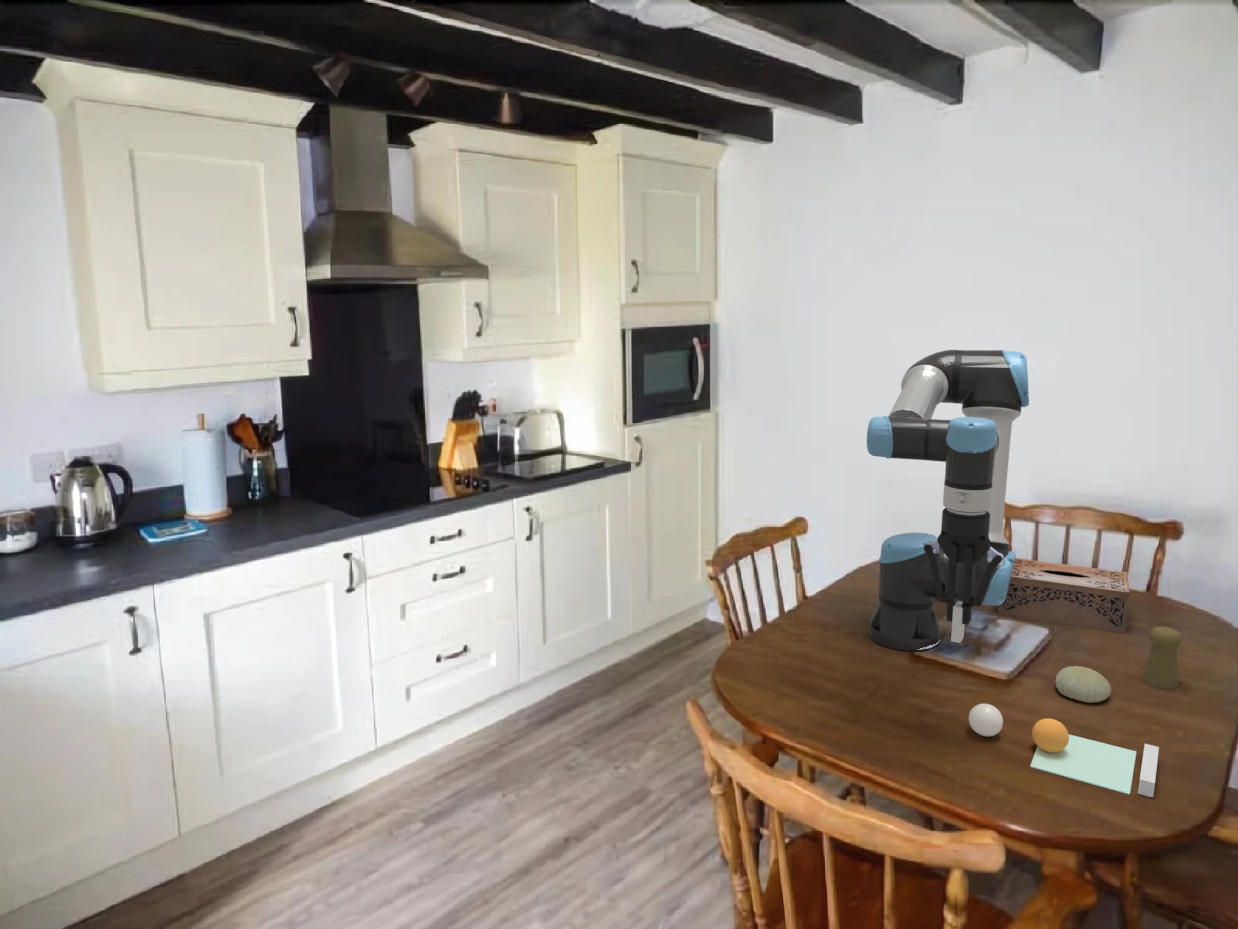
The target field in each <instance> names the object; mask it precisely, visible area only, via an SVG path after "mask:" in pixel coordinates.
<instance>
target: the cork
mask: <svg viewBox="0 0 1238 929" xmlns="http://www.w3.org/2000/svg"><path fill="white" fill-rule="evenodd" d="M1182 639H1183V638H1182V635H1181V633H1180V632H1179V631H1178V630H1176V629H1173V628H1171V627H1168V626H1156V627H1154V628H1152V629H1151V630H1150V632H1149V641H1150V642H1151V645H1150V646H1151V647H1150V649H1149V652H1148V657H1147V658H1146V659H1147V660H1146V663H1145V666H1144V668H1143V669H1144V670H1143V673H1142V676H1141V680H1142V681H1143V682H1144V683H1145V684H1147V685H1148V686H1151V687H1154V688H1157V689H1163V690H1173V689H1174V688H1175V689H1177V688H1178V687H1179V668H1178V667H1179V666H1178V665H1179V663H1178V648H1179V647H1180V646H1181V643H1182V641H1183V640H1182ZM1176 687H1177V688H1176Z"/></svg>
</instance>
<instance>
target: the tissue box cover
mask: <svg viewBox="0 0 1238 929" xmlns="http://www.w3.org/2000/svg"><path fill="white" fill-rule="evenodd" d="M1130 591H1131V590H1130V583H1129V572H1127V571H1118V570H1112V569H1103V568H1096V567H1087V566H1081V565H1072V564H1064V563H1058V562H1057V563H1056V562H1049V561H1040V560H1033V559H1025V558H1024V559H1023V558H1018V557H1015V561H1014V565H1013V570H1012V574H1011V578H1010V583H1009V587H1008V591H1007V595H1006V598H1005V601H1004V602H1003V603H1002V604H1001V605H998V612H997V613H998V615H1002V616H1008V617H1016V618H1022V619H1029V620H1034V621H1041V622H1047V623H1052V624H1059V625H1066V626H1073V627H1079V628H1085V629H1093V630H1098V631H1105V632H1111V633H1116V634H1126V627H1127V618H1128V610H1129V602H1130Z"/></svg>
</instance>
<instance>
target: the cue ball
mask: <svg viewBox="0 0 1238 929" xmlns="http://www.w3.org/2000/svg"><path fill="white" fill-rule="evenodd" d="M968 723H969V725H970V727H971V729H972V730H973V731H974V732H975V733H976V734H978V735H979V736H983V737H994V736H995V735H998V733H999V732H1001V730H1002V728H1003V727H1004V726H1003V724H1004V718H1003V715H1002V713H1001V712H1000V710H999V709H998V708H996V706H994V705H992V704H989V703H979V704H977V705H975V706H973V707H972V708H971V709H970V711H969V714H968Z"/></svg>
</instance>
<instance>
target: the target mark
mask: <svg viewBox="0 0 1238 929" xmlns="http://www.w3.org/2000/svg"><path fill="white" fill-rule="evenodd" d="M1068 734H1069V733H1068ZM1136 757H1137V751H1136V750H1132V749H1127V748H1124V747H1119V746H1116V745H1113V744H1108V743H1105V742H1101V741H1098V740H1093V739H1089V738H1088V739H1087V738H1085V737H1081V736H1078V735H1074V734H1073V735H1072V734H1069V741H1068V744H1067V746H1066V747H1065V748H1064V749H1063V750H1062V751H1060V752H1056V753H1050V752H1046V751H1044V750H1042V749H1041V748H1039V747H1038V746H1037V745H1036V749H1035V752H1034V755H1033V757H1032V760H1031V763H1030V765H1029V767H1030V768H1031V769H1034V770H1035V769H1036V770H1038V771H1039V770H1040V771H1041V772H1042V771H1043V772H1046V773H1050V774H1053V775H1057V776H1061V777H1064V778H1068V779H1071V780H1074V781H1078V782H1082V783H1086V784H1089V785H1093V786H1096V787H1099V788H1104V789H1107V790H1111V791H1115V792H1117V793H1118V792H1119V793H1122V794H1126V795H1129V796H1130V794H1131V791H1132V790H1131V789H1132V784H1133V776H1134V769H1135V764H1136Z"/></svg>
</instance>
